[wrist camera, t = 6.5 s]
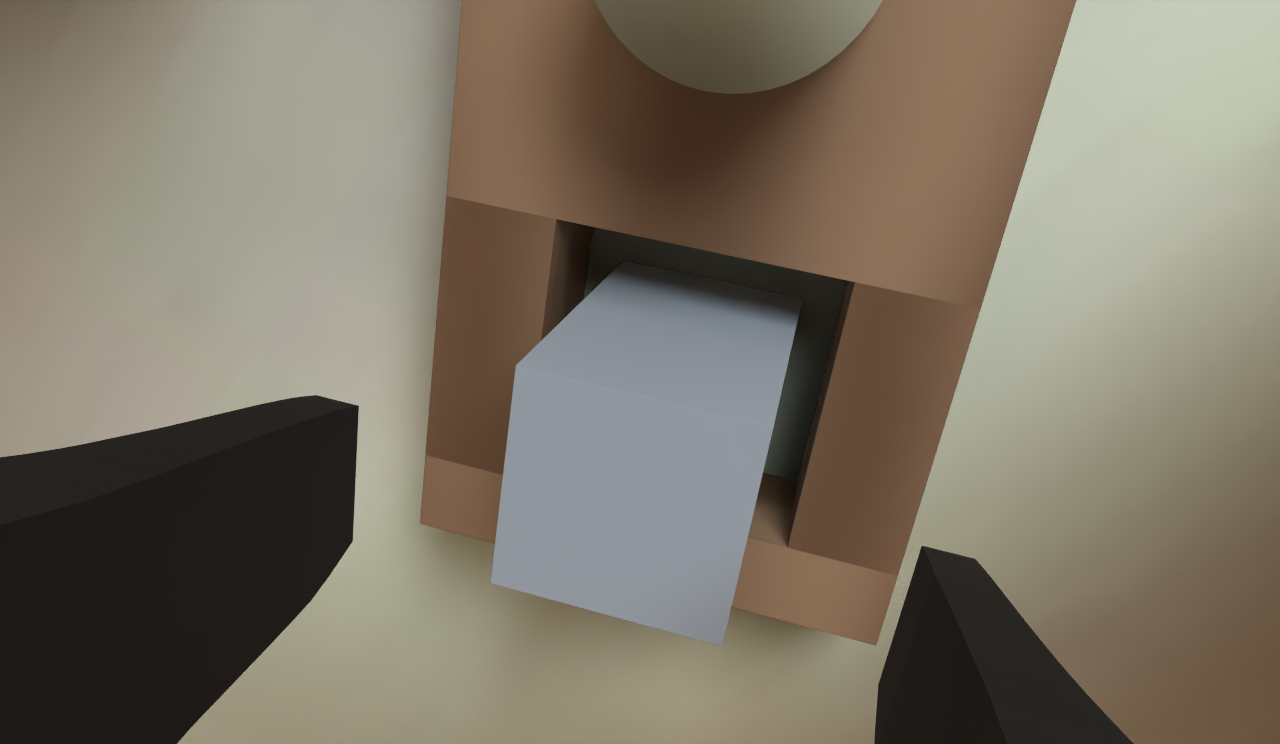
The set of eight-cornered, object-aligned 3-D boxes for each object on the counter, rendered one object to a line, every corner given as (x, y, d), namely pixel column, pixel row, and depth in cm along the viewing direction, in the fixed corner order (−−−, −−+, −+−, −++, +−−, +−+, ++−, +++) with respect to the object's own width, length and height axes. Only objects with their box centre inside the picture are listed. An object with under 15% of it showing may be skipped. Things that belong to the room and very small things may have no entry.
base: (1120, -257, 16) (1258, -410, 10) (874, 567, 22) (877, 749, 16) (553, -326, 17) (407, -492, 12) (472, 464, 23) (351, 599, 18)
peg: (802, 299, 20) (773, 426, 14) (764, 463, 22) (721, 646, 15) (623, 261, 21) (515, 365, 14) (598, 422, 22) (490, 583, 16)
